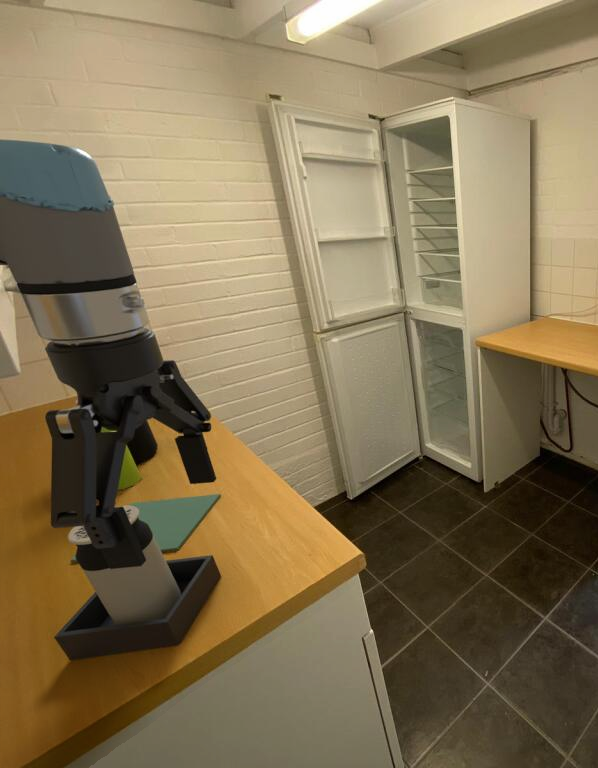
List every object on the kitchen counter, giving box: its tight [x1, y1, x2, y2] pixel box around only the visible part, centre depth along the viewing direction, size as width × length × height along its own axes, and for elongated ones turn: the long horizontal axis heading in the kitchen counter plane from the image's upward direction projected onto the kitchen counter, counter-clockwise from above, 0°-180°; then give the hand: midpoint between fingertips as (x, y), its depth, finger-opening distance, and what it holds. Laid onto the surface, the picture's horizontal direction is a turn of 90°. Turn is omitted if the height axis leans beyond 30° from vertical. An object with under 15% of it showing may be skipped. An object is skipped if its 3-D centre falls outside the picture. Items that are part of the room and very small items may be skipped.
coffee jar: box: [74, 398, 159, 465], centre depth 104 cm, size 11×11×18 cm
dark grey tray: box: [53, 554, 222, 661], centre depth 65 cm, size 14×12×5 cm
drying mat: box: [70, 493, 222, 563], centre depth 84 cm, size 18×16×1 cm
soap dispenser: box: [101, 427, 142, 491], centre depth 94 cm, size 6×7×20 cm
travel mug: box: [67, 505, 182, 625], centre depth 62 cm, size 8×8×18 cm
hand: (171, 517), depth 47 cm, fingers open, 13 cm apart
